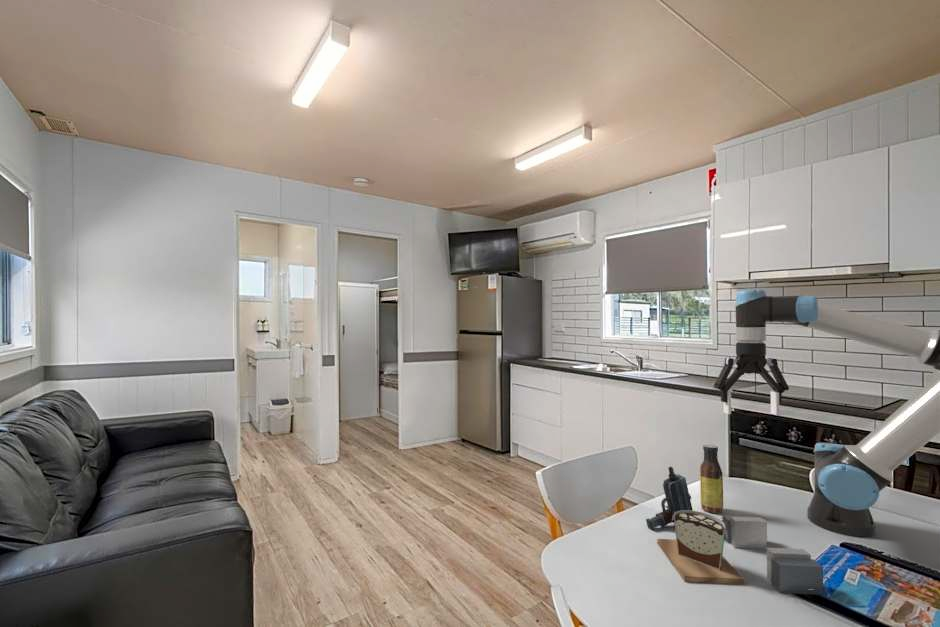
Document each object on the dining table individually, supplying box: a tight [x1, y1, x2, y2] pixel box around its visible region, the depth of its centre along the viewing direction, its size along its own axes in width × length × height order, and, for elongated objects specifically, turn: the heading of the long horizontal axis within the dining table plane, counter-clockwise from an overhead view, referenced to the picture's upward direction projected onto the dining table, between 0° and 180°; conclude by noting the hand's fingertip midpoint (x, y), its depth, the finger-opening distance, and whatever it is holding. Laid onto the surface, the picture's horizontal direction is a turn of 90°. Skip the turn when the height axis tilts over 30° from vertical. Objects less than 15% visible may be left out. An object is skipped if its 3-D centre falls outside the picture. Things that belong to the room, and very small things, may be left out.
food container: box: [672, 510, 728, 571], centre depth 107 cm, size 12×6×10 cm, turn 44°
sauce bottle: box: [699, 444, 724, 514], centre depth 137 cm, size 7×6×20 cm
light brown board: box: [656, 538, 745, 585], centre depth 107 cm, size 13×17×1 cm
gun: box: [645, 466, 694, 531], centre depth 126 cm, size 3×17×15 cm
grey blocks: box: [719, 514, 824, 596], centre depth 109 cm, size 9×28×7 cm, turn 176°
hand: (751, 413), depth 130 cm, fingers open, 13 cm apart
